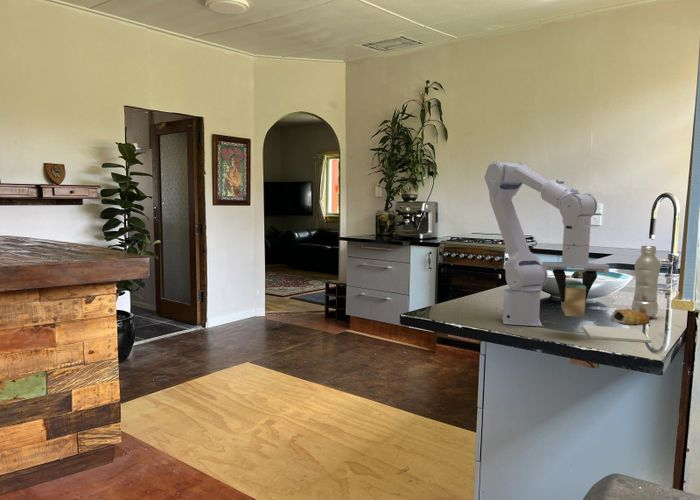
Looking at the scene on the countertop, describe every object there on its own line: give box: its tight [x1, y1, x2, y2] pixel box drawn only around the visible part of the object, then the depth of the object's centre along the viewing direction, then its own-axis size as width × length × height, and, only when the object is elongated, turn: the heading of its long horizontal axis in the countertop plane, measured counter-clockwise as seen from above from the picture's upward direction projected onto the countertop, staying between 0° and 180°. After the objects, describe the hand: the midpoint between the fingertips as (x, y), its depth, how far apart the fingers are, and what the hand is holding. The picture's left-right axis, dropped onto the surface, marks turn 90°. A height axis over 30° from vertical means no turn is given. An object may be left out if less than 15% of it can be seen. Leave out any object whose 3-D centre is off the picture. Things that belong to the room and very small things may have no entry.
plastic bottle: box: [631, 245, 662, 318], centre depth 144 cm, size 6×7×20 cm
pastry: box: [610, 308, 651, 326], centre depth 139 cm, size 9×7×4 cm
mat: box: [581, 324, 652, 344], centre depth 126 cm, size 13×11×1 cm
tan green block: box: [560, 280, 586, 318], centre depth 123 cm, size 4×8×7 cm, turn 165°
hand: (572, 301), depth 124 cm, fingers closed on tan green block, 4 cm apart
